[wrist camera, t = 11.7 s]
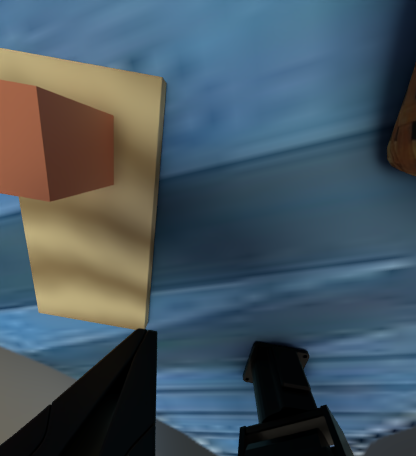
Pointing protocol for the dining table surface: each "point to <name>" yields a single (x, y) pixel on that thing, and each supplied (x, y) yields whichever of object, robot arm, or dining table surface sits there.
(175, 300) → the dining table surface
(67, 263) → the brass board
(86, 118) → the reddish brown block
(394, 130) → the basket
